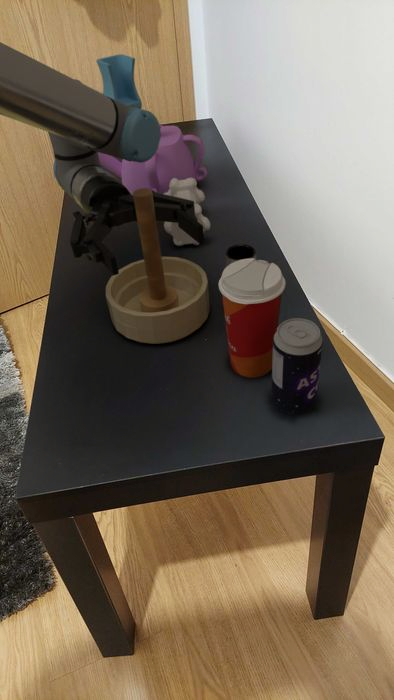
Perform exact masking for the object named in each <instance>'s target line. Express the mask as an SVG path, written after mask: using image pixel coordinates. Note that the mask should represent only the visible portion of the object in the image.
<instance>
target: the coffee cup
mask: <svg viewBox="0 0 394 700" xmlns="http://www.w3.org/2000/svg"><path fill="white" fill-rule="evenodd" d="M285 288H286V278H285V277H284V275H283V273H282V271H281V269H280V267H279V266H278V265H277V264H276V263H274V262H270V263H269V261H267V260H264V259H257V258H256V259H255V258H249V259H242V260H238V261H235V262H233V263H231V264H230V265H228V266H227V267H226V266H225V268H224V269H223V271H222V273H221V277H220V278H219V280H218V290H219V292H220V293H221V295H222V305H223V312H224V320H225V328H226V336H227V337H226V338H227V344H228V351H229V358H230V363H231V367H232V369H233V371H234V372H235V373H237V374H238V375H240V376H242V377H244V378H245V377H246V378H260V377H262V376H265V375H267V374H268V373H269V372H270V371H272V361H273V337H274V335H275V333H276V332H277V328H278V326H279V324H280V314H281V313H280V312H281V305H282V294H283V292H284V290H285Z"/></svg>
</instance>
